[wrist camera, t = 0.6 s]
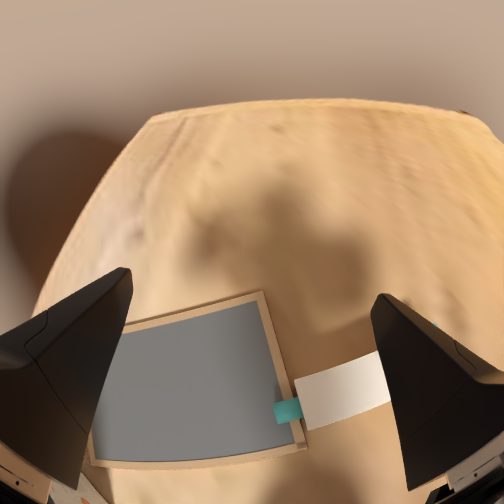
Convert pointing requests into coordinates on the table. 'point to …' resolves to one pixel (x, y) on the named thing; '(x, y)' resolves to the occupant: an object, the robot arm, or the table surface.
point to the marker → (336, 393)
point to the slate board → (195, 392)
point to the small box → (76, 493)
